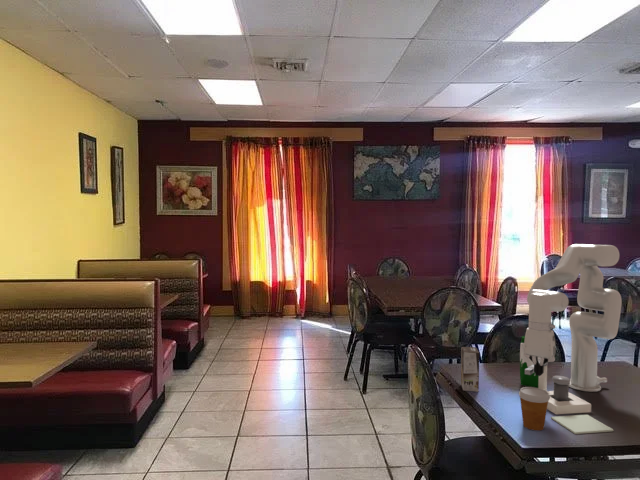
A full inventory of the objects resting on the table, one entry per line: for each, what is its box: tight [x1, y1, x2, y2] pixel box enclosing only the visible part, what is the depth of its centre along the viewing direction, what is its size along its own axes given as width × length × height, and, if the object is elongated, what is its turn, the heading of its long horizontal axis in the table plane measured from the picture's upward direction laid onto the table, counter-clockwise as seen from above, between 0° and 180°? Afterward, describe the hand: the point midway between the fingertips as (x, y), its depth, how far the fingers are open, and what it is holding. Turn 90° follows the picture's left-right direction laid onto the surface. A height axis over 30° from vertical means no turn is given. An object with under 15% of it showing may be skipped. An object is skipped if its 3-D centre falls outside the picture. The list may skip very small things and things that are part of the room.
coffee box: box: [460, 346, 480, 392], centre depth 191 cm, size 9×6×16 cm
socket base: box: [538, 365, 592, 415], centre depth 176 cm, size 14×20×12 cm
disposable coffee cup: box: [518, 386, 550, 432], centre depth 155 cm, size 10×10×12 cm
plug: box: [552, 375, 571, 402], centre depth 173 cm, size 6×6×10 cm
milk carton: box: [519, 335, 541, 388], centre depth 196 cm, size 9×9×20 cm
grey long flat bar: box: [525, 359, 549, 375], centre depth 178 cm, size 19×3×2 cm, turn 136°
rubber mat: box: [550, 414, 614, 435], centre depth 156 cm, size 14×12×1 cm
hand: (538, 374), depth 171 cm, fingers closed
